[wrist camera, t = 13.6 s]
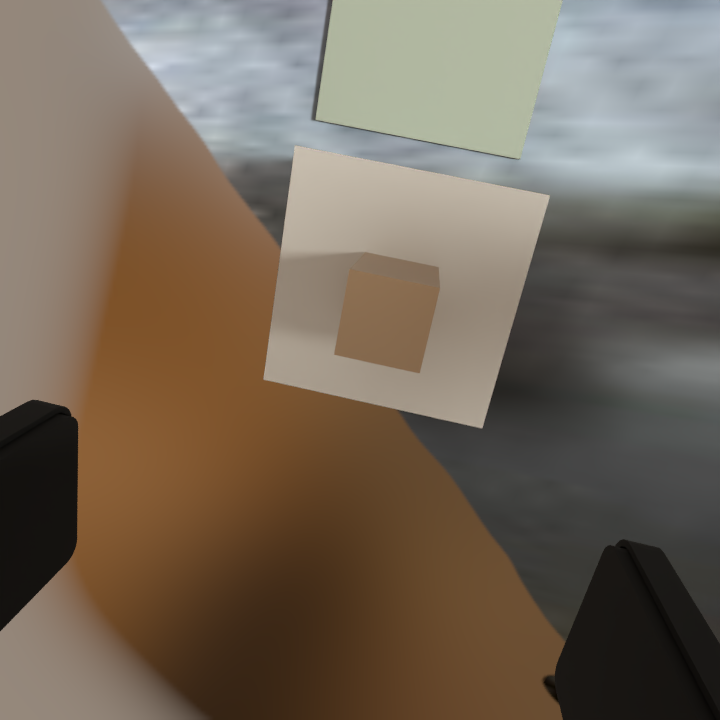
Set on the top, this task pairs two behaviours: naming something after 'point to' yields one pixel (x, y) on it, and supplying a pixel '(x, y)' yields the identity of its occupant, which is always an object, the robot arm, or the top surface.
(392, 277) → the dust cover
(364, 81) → the mat
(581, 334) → the top surface
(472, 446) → the top surface
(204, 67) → the top surface
